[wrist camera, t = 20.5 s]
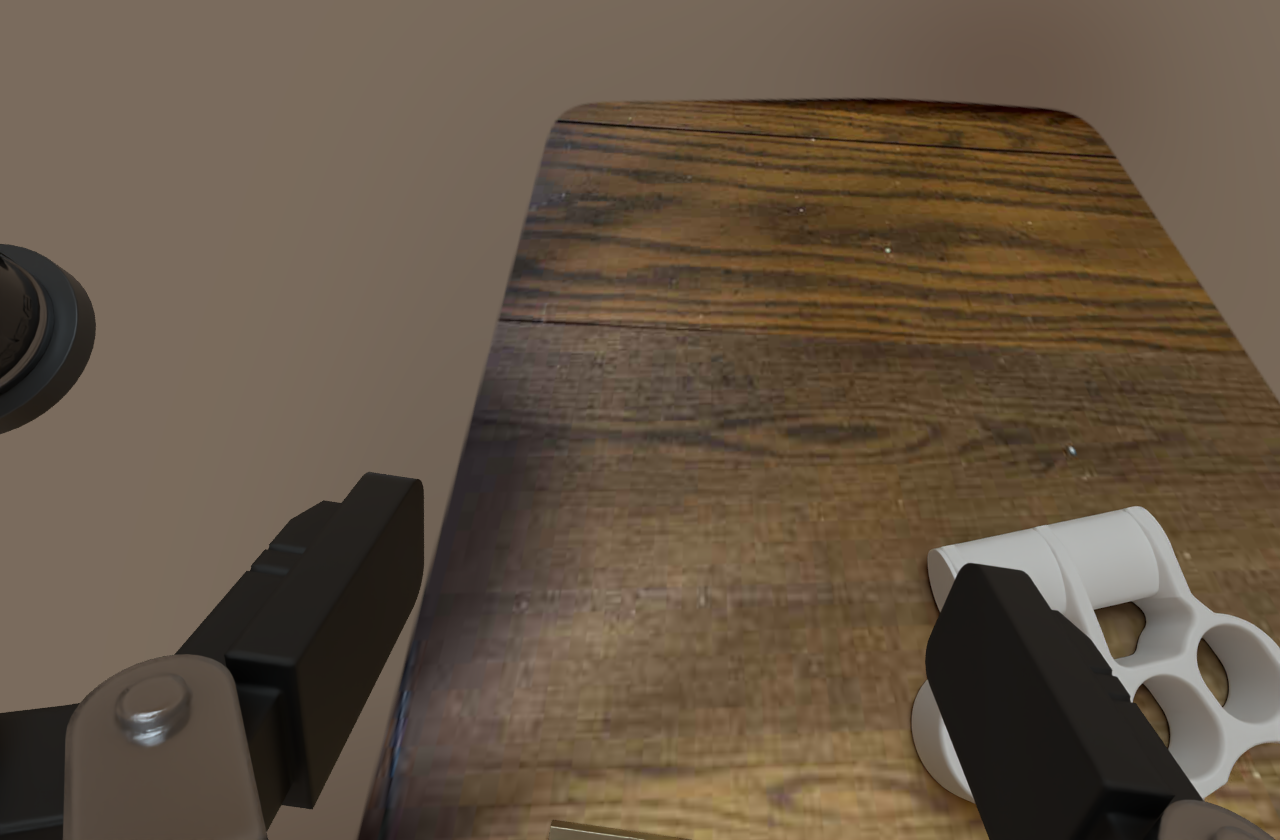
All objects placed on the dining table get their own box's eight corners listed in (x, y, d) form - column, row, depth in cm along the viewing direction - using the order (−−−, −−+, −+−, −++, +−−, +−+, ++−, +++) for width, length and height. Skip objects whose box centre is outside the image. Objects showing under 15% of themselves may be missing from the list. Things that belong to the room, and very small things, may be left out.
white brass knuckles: (1164, 501, 39) (1284, 785, 35) (860, 565, 37) (950, 874, 33) (1214, 488, 36) (1353, 799, 32) (885, 557, 34) (988, 899, 30)
